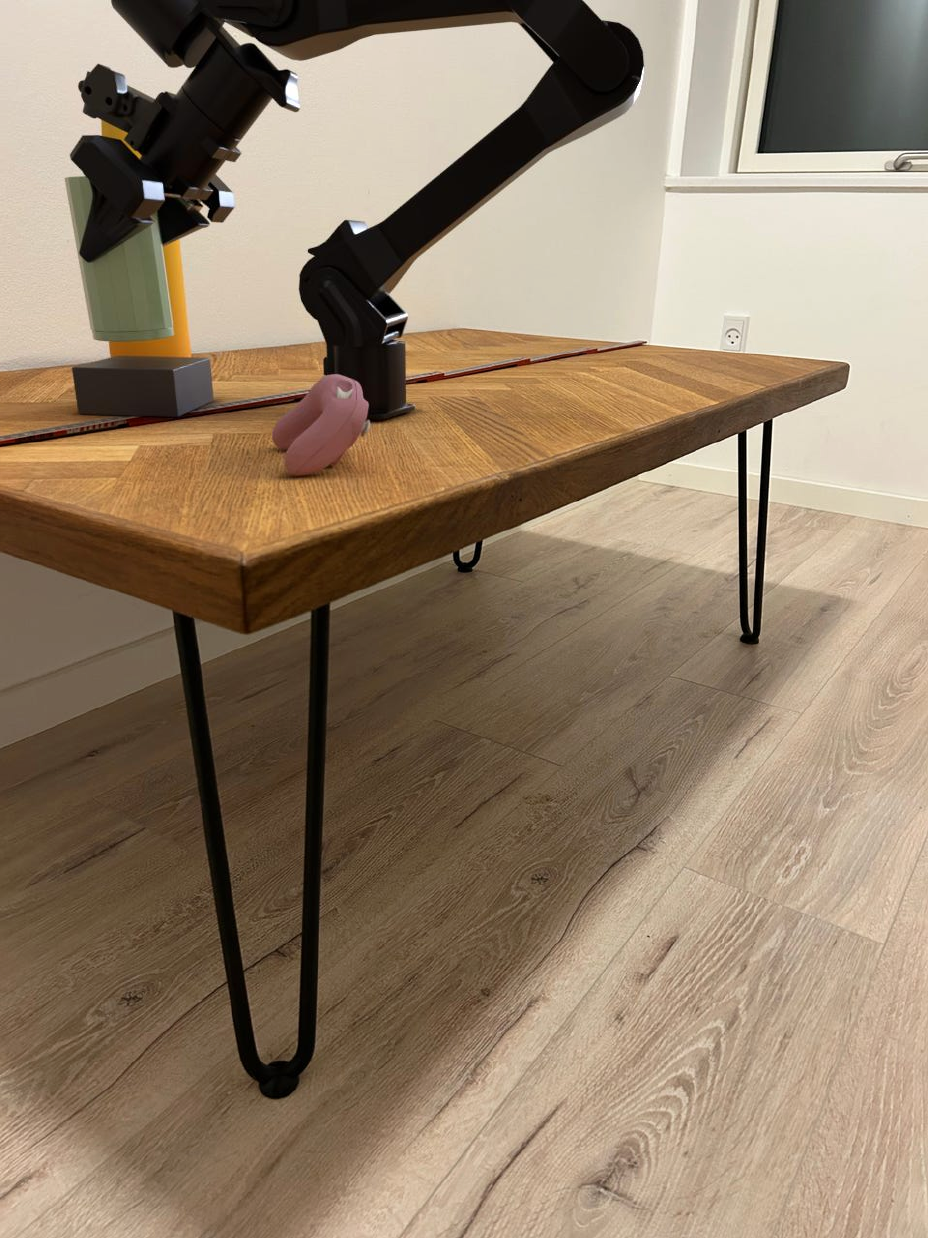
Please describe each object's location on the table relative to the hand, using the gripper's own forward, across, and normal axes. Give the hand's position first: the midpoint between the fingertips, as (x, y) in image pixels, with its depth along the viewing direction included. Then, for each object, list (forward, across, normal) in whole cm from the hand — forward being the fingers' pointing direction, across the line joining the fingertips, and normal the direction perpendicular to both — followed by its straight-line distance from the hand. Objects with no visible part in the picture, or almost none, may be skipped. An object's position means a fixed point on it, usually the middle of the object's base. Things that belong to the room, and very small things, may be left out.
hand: (106, 257), depth 80 cm
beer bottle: (+16, -25, +2) cm, 30 cm away
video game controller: (-8, +19, +27) cm, 34 cm away
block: (+7, +1, +11) cm, 13 cm away
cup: (+4, 0, +6) cm, 7 cm away
